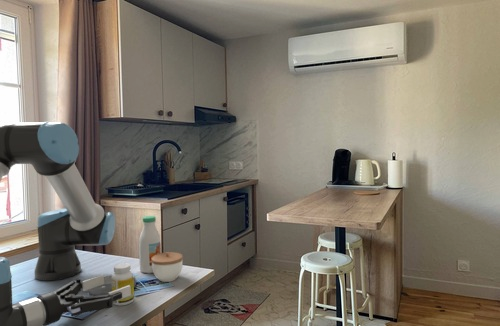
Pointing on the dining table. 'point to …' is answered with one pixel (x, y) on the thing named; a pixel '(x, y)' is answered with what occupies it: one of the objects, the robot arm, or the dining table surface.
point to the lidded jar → (167, 266)
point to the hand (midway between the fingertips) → (116, 284)
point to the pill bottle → (123, 282)
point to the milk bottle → (148, 244)
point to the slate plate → (104, 287)
